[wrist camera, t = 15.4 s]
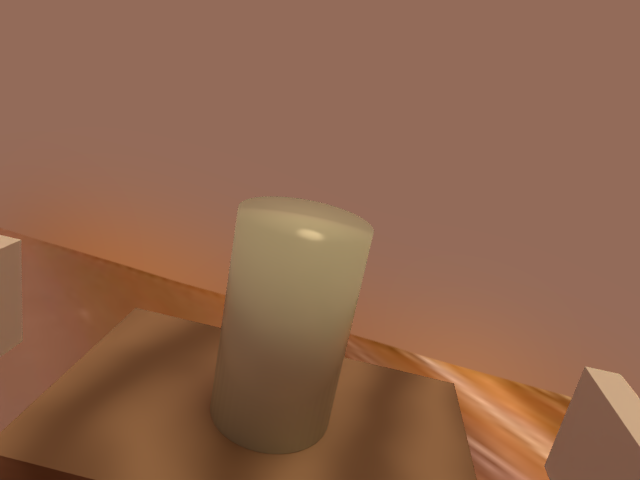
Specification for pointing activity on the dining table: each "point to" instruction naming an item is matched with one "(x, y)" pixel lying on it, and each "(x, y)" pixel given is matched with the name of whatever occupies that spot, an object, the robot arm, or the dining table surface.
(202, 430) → the walnut board
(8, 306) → the robot arm
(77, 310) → the dining table surface
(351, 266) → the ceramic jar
